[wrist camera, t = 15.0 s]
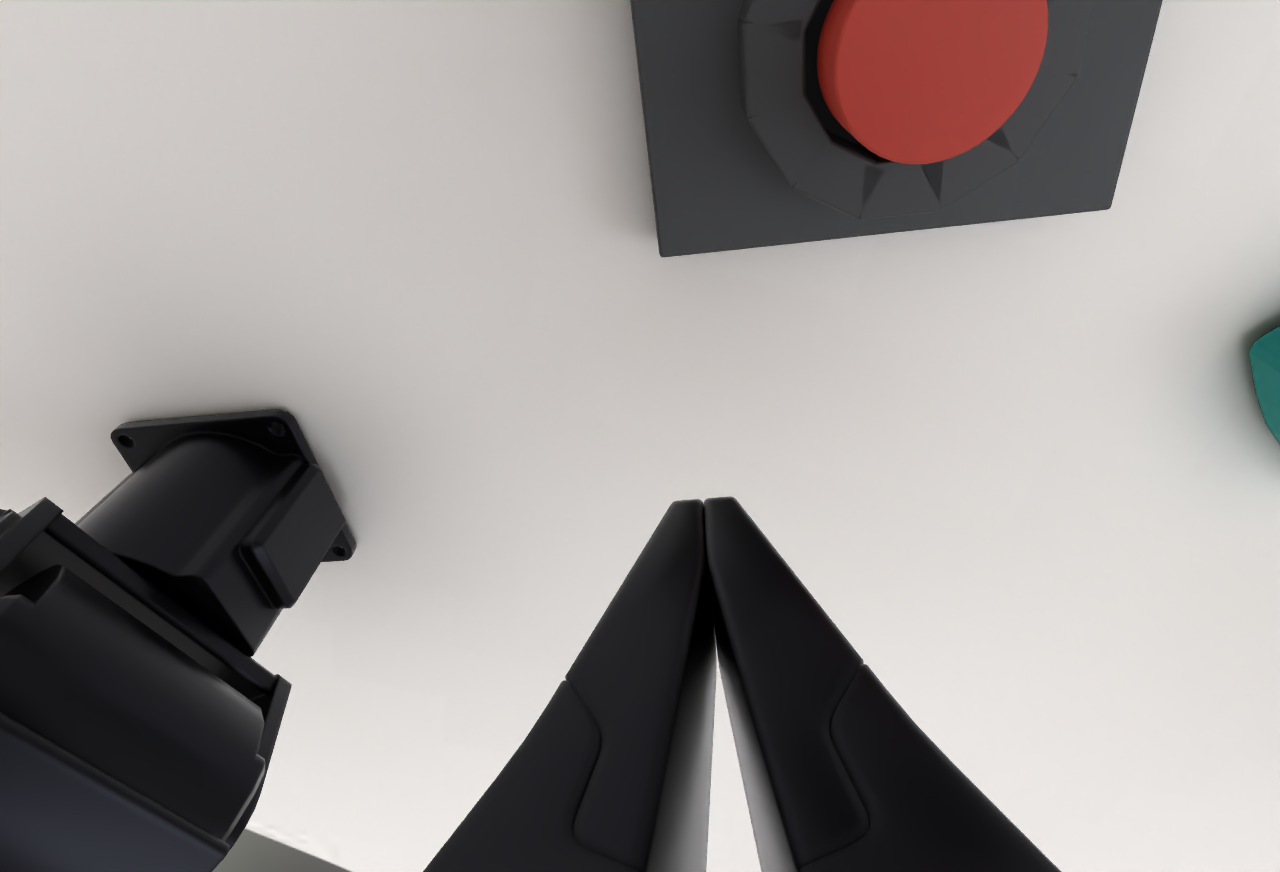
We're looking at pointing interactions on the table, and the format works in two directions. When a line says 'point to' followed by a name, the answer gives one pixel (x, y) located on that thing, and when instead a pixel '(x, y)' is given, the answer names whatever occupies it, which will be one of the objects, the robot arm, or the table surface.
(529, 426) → the table surface
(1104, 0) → the control block
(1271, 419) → the digital multimeter
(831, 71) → the red button
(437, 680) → the table surface
